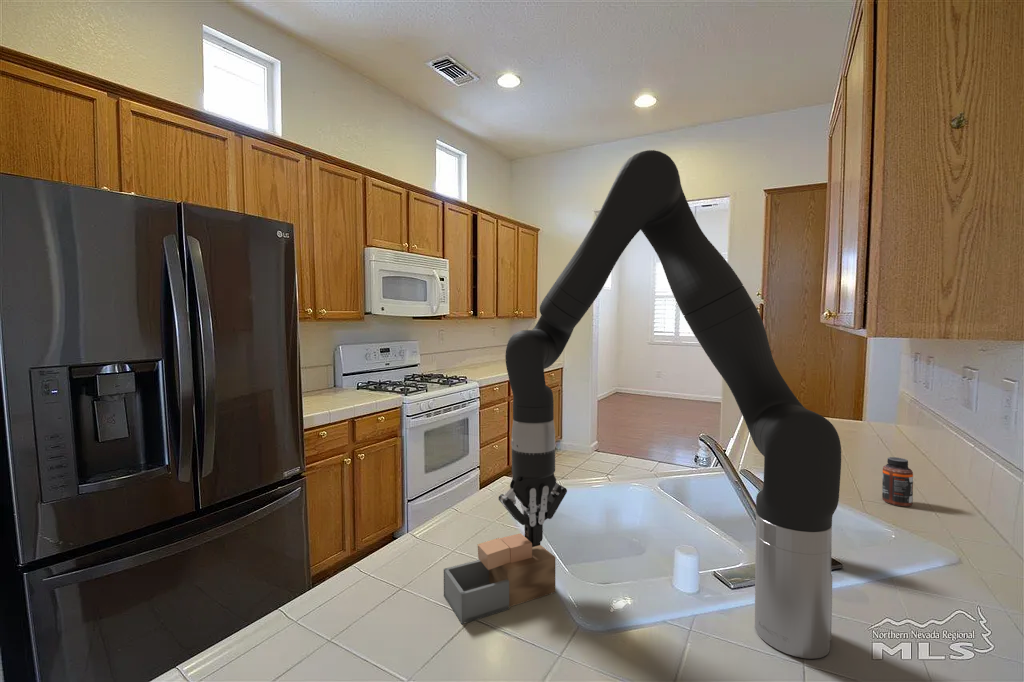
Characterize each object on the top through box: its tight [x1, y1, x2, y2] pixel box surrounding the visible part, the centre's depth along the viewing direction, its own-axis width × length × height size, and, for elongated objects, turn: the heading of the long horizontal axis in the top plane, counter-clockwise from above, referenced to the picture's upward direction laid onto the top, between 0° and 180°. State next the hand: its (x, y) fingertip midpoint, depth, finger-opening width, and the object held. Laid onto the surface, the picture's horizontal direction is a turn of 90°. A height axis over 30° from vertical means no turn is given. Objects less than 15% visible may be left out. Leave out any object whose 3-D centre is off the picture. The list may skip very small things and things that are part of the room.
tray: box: [443, 559, 510, 625], centre depth 73 cm, size 8×8×4 cm
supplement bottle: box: [881, 456, 914, 507], centre depth 116 cm, size 6×6×11 cm
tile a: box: [499, 533, 532, 563], centre depth 77 cm, size 4×4×2 cm
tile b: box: [476, 537, 510, 570], centre depth 75 cm, size 4×4×2 cm
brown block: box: [489, 544, 556, 608], centre depth 77 cm, size 9×8×6 cm
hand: (533, 544), depth 79 cm, fingers closed
